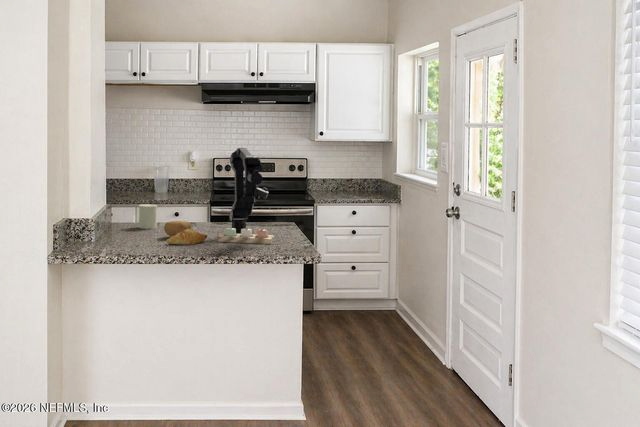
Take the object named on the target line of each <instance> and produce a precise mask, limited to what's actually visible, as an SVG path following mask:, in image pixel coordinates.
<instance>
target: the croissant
mask: <svg viewBox="0 0 640 427" xmlns="http://www.w3.org/2000/svg"><path fill="white" fill-rule="evenodd" d="M207 238H208V235H207V234H204V233H200V232H199V231H196V230H195V229H193V228H191V229H186V230H185V231H182V232H181V233H178V234H177V235H175V236H172V237H171V236H170V237H169V238H167V239H166V243H167V244H168V245H179V246H181V245H184V246H186V245H196V244H198V243H199V244H200V243H202V242H204V241H205V240H206V239H207Z"/></svg>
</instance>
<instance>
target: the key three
mask: <svg viewBox="0 0 640 427" xmlns="http://www.w3.org/2000/svg"><path fill="white" fill-rule="evenodd" d="M256 235H257V238H267V235H268V230H267V229H264V228H259V229H256Z"/></svg>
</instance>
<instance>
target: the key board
mask: <svg viewBox="0 0 640 427" xmlns="http://www.w3.org/2000/svg"><path fill="white" fill-rule="evenodd" d="M274 237H275V236H274V235H271V234H267V238H257V234H252V237H241V234H238V233H236V237H234V236H225V232H221V233H220V234H219V236H217V242H218V243H221V242H222V243H241V244H259V245H260V244H266V245H267V244H268V245H272V243H273V242H274Z"/></svg>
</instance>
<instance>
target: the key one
mask: <svg viewBox="0 0 640 427" xmlns="http://www.w3.org/2000/svg"><path fill="white" fill-rule="evenodd" d="M224 229H225V231H224V233H225V236H234V237H236V234H237V233H236V229H235V228H232V227H226V228H224Z"/></svg>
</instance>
